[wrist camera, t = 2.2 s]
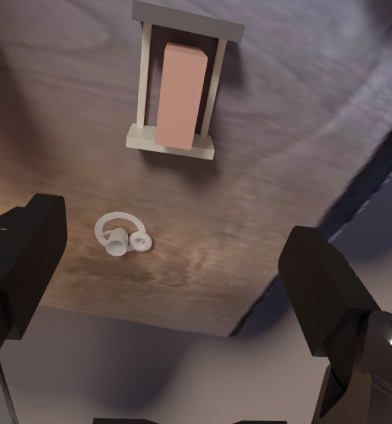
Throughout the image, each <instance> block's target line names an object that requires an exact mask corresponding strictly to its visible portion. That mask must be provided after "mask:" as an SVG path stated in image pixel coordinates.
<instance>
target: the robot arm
mask: <svg viewBox="0 0 392 424" xmlns="http://www.w3.org/2000/svg"><path fill="white" fill-rule="evenodd" d="M66 243H67V223H66V211H65V201H64V198H63V197H62V196H57V195H49V194H40V193H37V194H35V195H34V196H33V198H32V199H31V200H30V201H29V203H28V204H27V205H26V206H25V207H15V208H13V209H11V210H9V211H8V212H6V213H4V214H2V215H1V216H0V348H1V346H2V345H3V343H4V341H5V339H12V340H21V339H22V336H23V335H24V332H25V331H26V329H27V327H28V325H29V323H30V320H31V318H32V316H33V314H34V312H35V310H36V308H37V306H38V304H39V302H40V300H41V298H42V296H43V294H44V292H45V290H46V288H47V286H48V284H49V282H50V280H51V278H52V275H53V273H54V271H55V269H56V267H57V265H58V263H59V261H60V259H61V257H62V255H63V253H64V251H65V247H66ZM278 270H279V274H280V277H281V279H282V282H283V284H284V286H285V289H286V292H287V294H288V297H289V299H290V302H291V304H292V307H293V309H294V311H295V314H296V316H297V319H298V321H299V324H300V326H301V329H302V331H303V334H304V336H305V339H306V341H307V344H308V346H309V349H310V351H311V354H312V356H317V357H328V359H329V361H330V364H329V366H328V367H327V368H326V371H325V375H324V378H323V382H322V386H321V390H320V393H319V397H318V401H317V405H316V408H315V412H314V416H313V419H312V422H311V424H392V313H390V312H386V311H382V310H381V309H380V308H379V306H378V305H377V303H376V302H375V300H374V299H373V297H372V296H371V295H370V293H369V292H368V290H367V289H366V288H365V286H364V285H363V283H362V282H361V281H360V279H359V278H358V276H356V273H355V272H354V270H353V269H352V268H351V267H349V263H348V262H347V260H346V259H345V258H344V256H343V255H342V253H340V252H339V251H338V250H337V249H336V248H335V247H334V246H332V245H331V244H330V243H328V242H327V240H326V239H325V237H324V236H323V234H322V233H321V231H320V230H319V229H318V228H313V227H304V226H295V227H294V228H293V229H292V231H291V233H290V235H289V237H288V239H287V242H286V244H285V246H284V248H283V250H282V252H281V255H280V257H279V261H278ZM0 424H19V422H18V419H17V416H16V412H15V409H14V405H13V402H12V399H11V395H10V392H9V389H8V385H7V382H6V379H5V375H4V372H3V369H2V366H1V362H0ZM93 424H158V423H155V422H152V421H149V420H146V419H108V418H94V420H93ZM234 424H287V421H240V422H237V423H234Z"/></svg>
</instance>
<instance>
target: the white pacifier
mask: <svg viewBox="0 0 392 424" xmlns="http://www.w3.org/2000/svg"><path fill="white" fill-rule="evenodd" d="M114 218H124V219H127V220H130V221H131V222H133V223H134V224H135V225H136V226H137V228H138V230H139V231H137V232H134V233H133V234H131V236H130V238H129V243H130V245H129V246H128V233H127V231H126V230H125V229H123V228H116V229H115V230H110V231H106V232H104V233H102V228H103V226H104V224H105V223H106V222H107V221H109V220H111V219H114ZM109 233H111V234H110V236H109V238H108V240H106V239H105V238H104V235H106V234H109ZM95 235H96V238H97V239H98V241H99V242H100V243H101V244H102V245H103V246H105V248H106V251H107V252H108V253H109V254H111V255H113V256H122V255H124V254H125V253H126V252H129V251H133V250H137V251H141V252H144V251H147V250H149V249H150V248H151V246H152V239H151V237H150V236H149V235H148V234H147V233H146V230H145V227H144V225H143V224H142V222H141V221H140V220H139V219H137V218H136V217H134V216H133V215H130V214H127V213H123V212H113V213H108V214H106V215H104V216H102V217H101V218H100V219H99V220H98V221H97V223H96V225H95ZM144 242H145V243H144ZM143 243H144V244H143Z"/></svg>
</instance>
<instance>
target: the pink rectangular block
mask: <svg viewBox="0 0 392 424" xmlns="http://www.w3.org/2000/svg"><path fill="white" fill-rule="evenodd" d="M207 60H208V58H207V56H206V55H205V54H204V53H203V51H202V50H201V49H200V48H198V47H193V46H188V45H183V44H178V43H174V42H169V41H168V43H167V46H166V48H165V54H164V63H163V73H162V82H161V91H160V101H159V110H158V119H157V128H156V138H155V145H161V146H167V147H174V148H180V149H187V150H191V148H192V142H193V137H194V131H195V126H196V120H197V115H198V109H199V104H200V98H201V93H202V87H203V82H204V77H205V71H206V66H207Z"/></svg>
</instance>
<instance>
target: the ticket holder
mask: <svg viewBox="0 0 392 424" xmlns="http://www.w3.org/2000/svg"><path fill="white" fill-rule="evenodd" d="M132 20H136V21H141V22H144V24H143V39H142V53H141V68H140V82H139V97H138V112H137V124H135V123H132V126H131V128H130V130H129V132H128V135H127V141H126V147H130V148H137V149H143V150H150V151H157V152H163V153H170V154H176V155H183V156H190V157H196V158H203V159H210V160H213V156H214V151H215V150H214V146H213V143H212V139H211V136H209V135H207V134H208V129H209V124H210V120H211V115H212V110H213V105H214V100H215V96H216V91H217V86H218V81H219V77H220V72H221V67H222V62H223V57H224V53H225V48H226V43H227V40H229V41H234V42H238V43H241V40H242V36H243V31H244V27H245V25H241V24H237V23H232V22H228V21H223V20H219V19H215V18H210V17H206V16H201V15H197V14H192V13H188V12H183V11H179V10H175V9H170V8H166V7H161V6H157V5H152V4H148V3H143V2H139V1H135V0H133V4H132ZM152 24H155V25H159V26H164V27H169V28H173V29H178V30H183V31H187V32H192V33H197V34H201V35H206V36H210V37H215V38H219V39H218V44H217V49H216V54H215V60H214V65H213V70H212V75H211V80H210V85H209V90H208V96H207V101H206V106H205V111H204V116H203V121H202V126H201V132H200V134H197V133H194V137H193V142H192V148H191V150H187V149H180V148H174V147H167V146H161V145H155V138H156V128H157V127H154V126H148V125H144V117H145V105H146V93H147V81H148V69H149V57H150V45H151V33H152Z"/></svg>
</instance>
